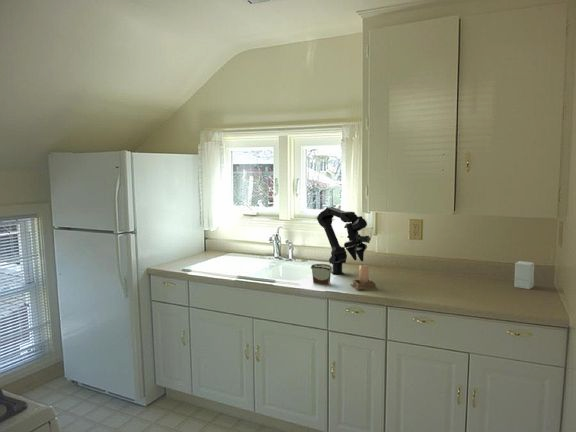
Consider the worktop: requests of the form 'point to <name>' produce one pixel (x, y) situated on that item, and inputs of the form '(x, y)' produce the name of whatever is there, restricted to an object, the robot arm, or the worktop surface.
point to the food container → (321, 273)
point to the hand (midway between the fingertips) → (359, 260)
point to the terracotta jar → (363, 274)
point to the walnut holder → (364, 285)
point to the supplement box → (524, 274)
